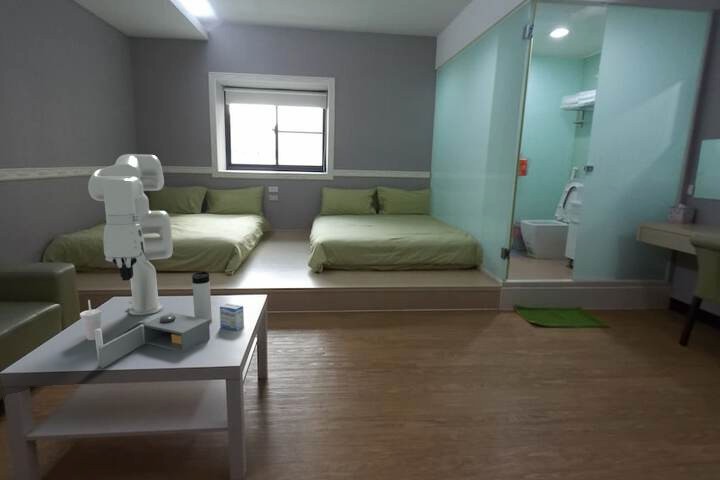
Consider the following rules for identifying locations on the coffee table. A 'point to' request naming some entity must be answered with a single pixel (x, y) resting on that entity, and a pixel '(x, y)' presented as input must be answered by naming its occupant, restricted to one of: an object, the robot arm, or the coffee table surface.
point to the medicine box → (231, 317)
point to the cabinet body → (176, 331)
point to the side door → (117, 345)
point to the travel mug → (202, 295)
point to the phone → (132, 328)
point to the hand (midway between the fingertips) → (127, 279)
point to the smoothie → (91, 321)
